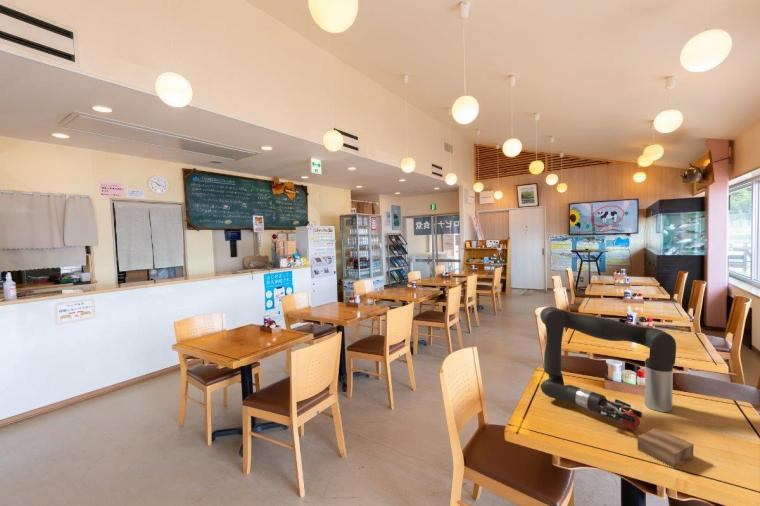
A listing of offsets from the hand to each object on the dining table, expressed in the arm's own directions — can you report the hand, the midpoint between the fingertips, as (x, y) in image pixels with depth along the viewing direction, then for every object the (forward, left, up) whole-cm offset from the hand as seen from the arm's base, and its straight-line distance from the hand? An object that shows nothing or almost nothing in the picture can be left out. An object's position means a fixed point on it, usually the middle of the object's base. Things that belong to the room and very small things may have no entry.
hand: (638, 417), depth 132 cm
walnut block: (+5, +11, -6) cm, 14 cm away
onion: (0, -3, -6) cm, 7 cm away
